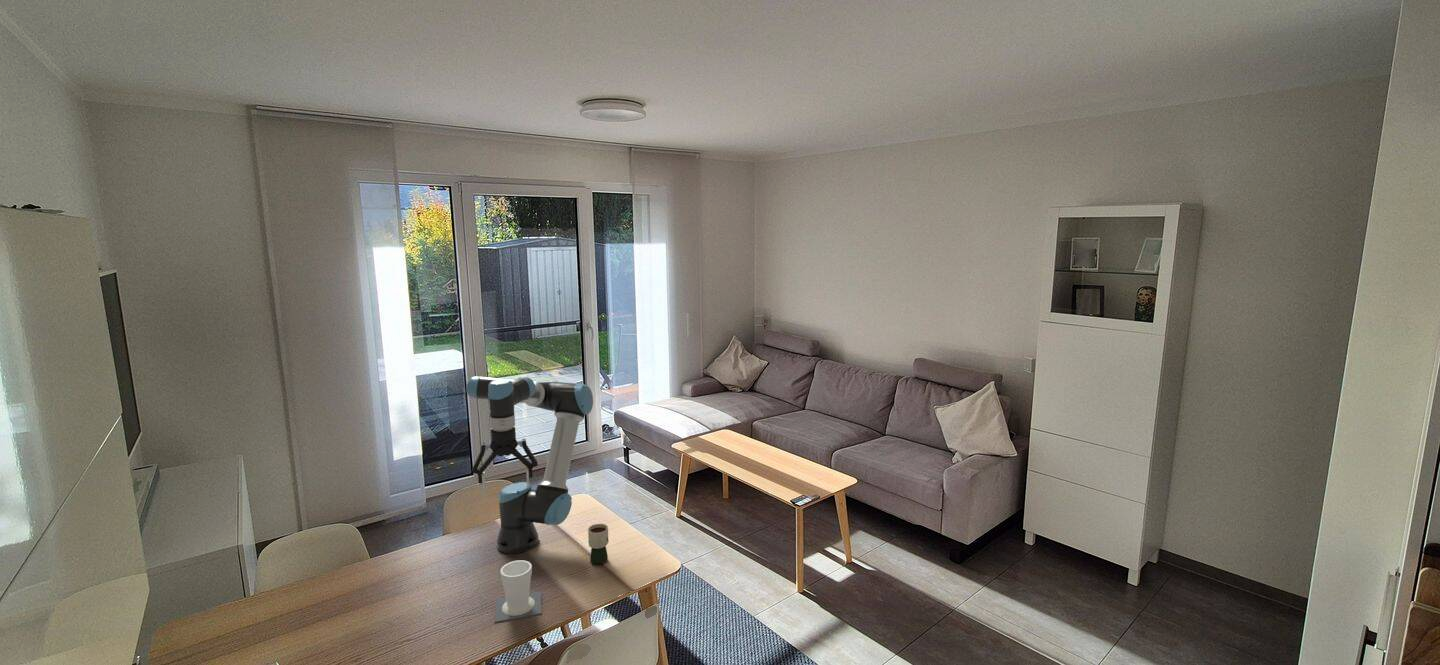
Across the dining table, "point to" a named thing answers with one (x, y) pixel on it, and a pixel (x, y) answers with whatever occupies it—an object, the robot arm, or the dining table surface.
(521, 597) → the foam cup
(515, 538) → the robot arm
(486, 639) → the dining table surface
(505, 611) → the mat
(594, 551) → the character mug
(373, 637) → the dining table surface
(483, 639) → the dining table surface
